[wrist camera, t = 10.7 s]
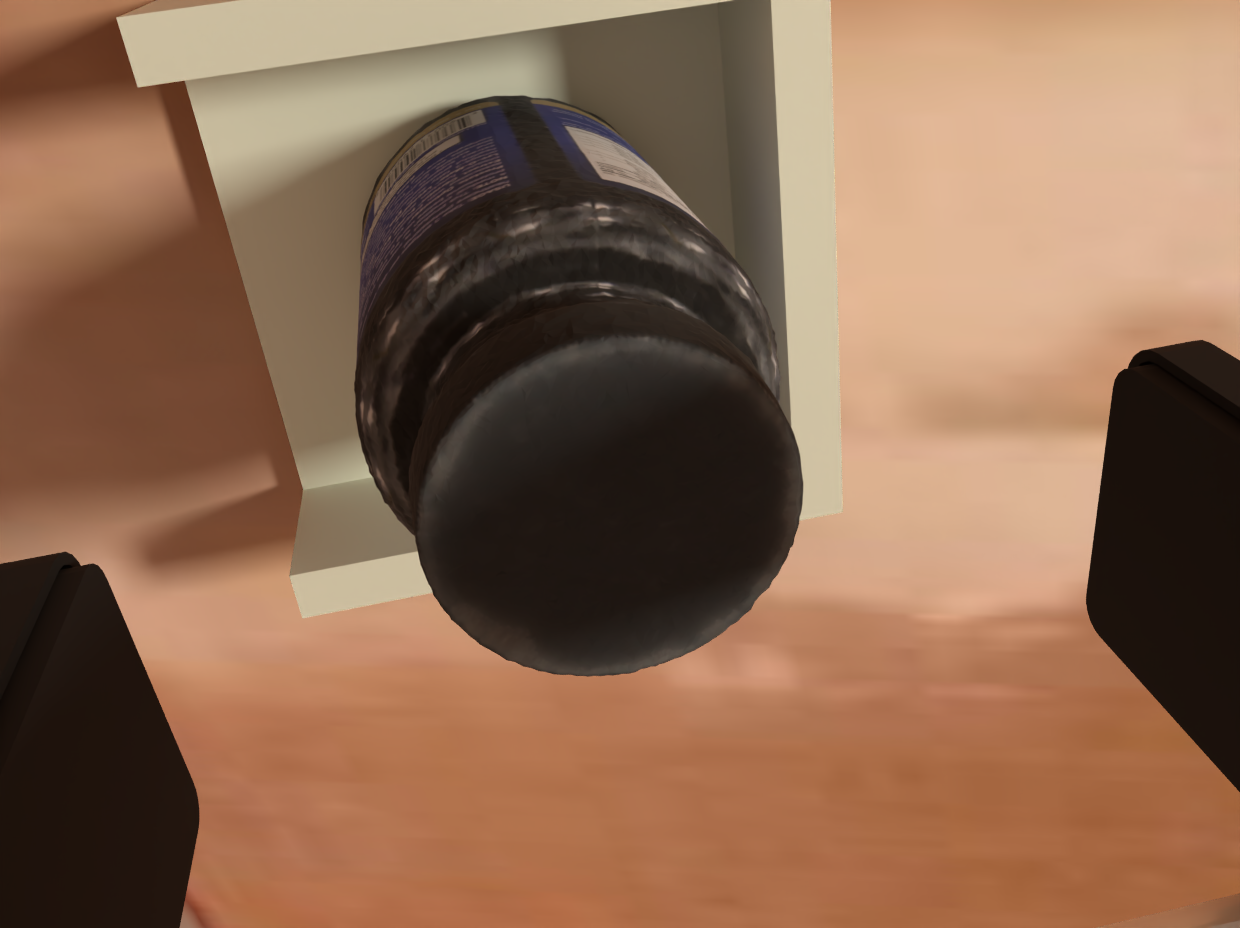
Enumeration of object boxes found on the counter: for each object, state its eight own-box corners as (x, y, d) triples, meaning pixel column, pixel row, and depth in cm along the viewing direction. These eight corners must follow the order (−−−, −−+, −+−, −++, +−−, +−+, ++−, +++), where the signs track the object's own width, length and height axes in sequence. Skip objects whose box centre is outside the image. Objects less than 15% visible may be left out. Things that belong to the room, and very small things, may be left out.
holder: (166, -5, 20) (115, 17, 16) (755, -86, 21) (828, -82, 17) (316, 515, 25) (302, 618, 22) (782, 428, 26) (842, 512, 23)
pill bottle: (391, 401, 24) (393, 765, 14) (332, 106, 21) (284, 315, 11) (673, 358, 24) (857, 677, 15) (655, 69, 21) (872, 234, 12)
